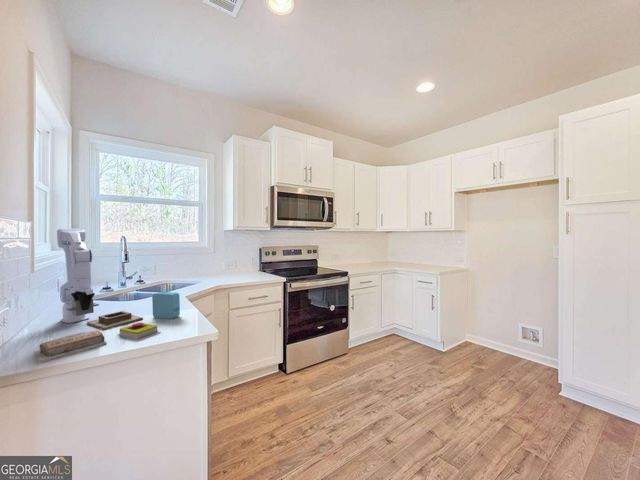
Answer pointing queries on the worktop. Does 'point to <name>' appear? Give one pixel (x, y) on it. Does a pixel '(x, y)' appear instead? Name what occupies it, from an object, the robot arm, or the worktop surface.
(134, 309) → the worktop surface
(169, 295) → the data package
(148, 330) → the emergency button
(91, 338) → the packaged product
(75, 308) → the servo block
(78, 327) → the worktop surface
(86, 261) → the robot arm
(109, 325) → the dock
